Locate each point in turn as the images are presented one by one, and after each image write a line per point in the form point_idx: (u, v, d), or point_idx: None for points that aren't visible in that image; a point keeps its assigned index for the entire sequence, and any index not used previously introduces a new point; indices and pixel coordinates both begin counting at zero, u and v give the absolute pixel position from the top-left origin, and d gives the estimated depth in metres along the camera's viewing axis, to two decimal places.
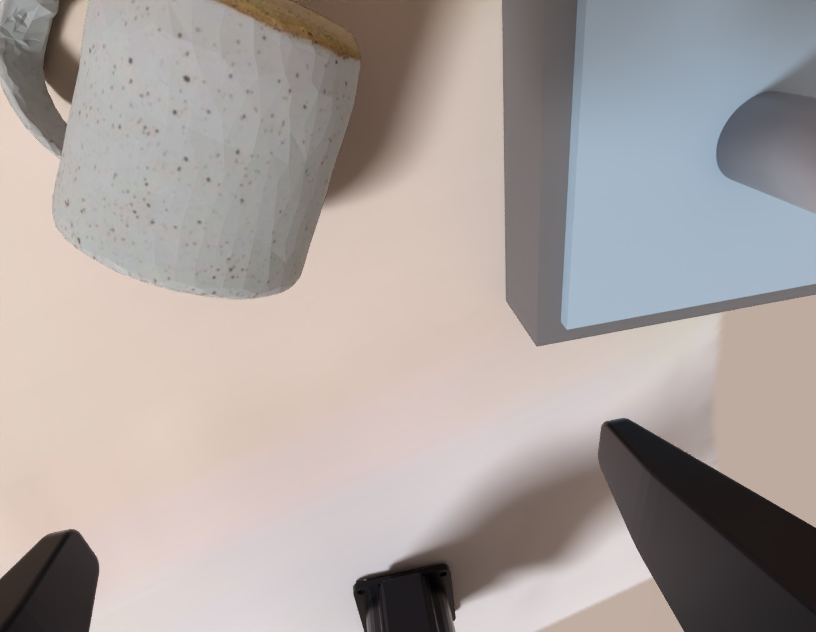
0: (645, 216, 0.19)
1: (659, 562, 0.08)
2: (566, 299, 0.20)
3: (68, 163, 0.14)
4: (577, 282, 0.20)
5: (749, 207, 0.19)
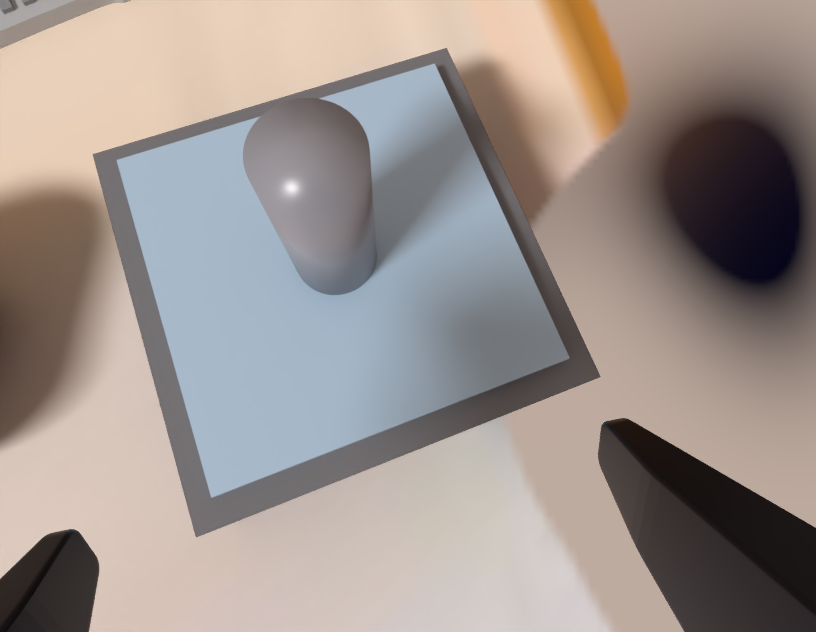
0: (253, 346, 0.18)
1: (659, 562, 0.08)
2: (202, 458, 0.17)
3: None
4: (203, 433, 0.17)
5: (367, 315, 0.19)
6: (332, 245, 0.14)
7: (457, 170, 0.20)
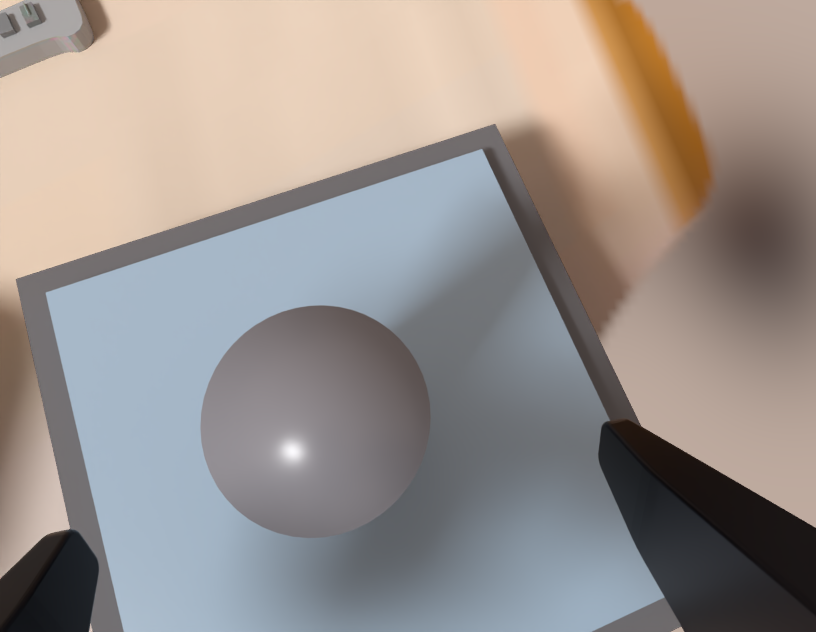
0: (235, 577, 0.13)
1: (659, 562, 0.08)
2: None
3: None
4: None
5: (398, 524, 0.13)
6: None
7: (518, 301, 0.15)
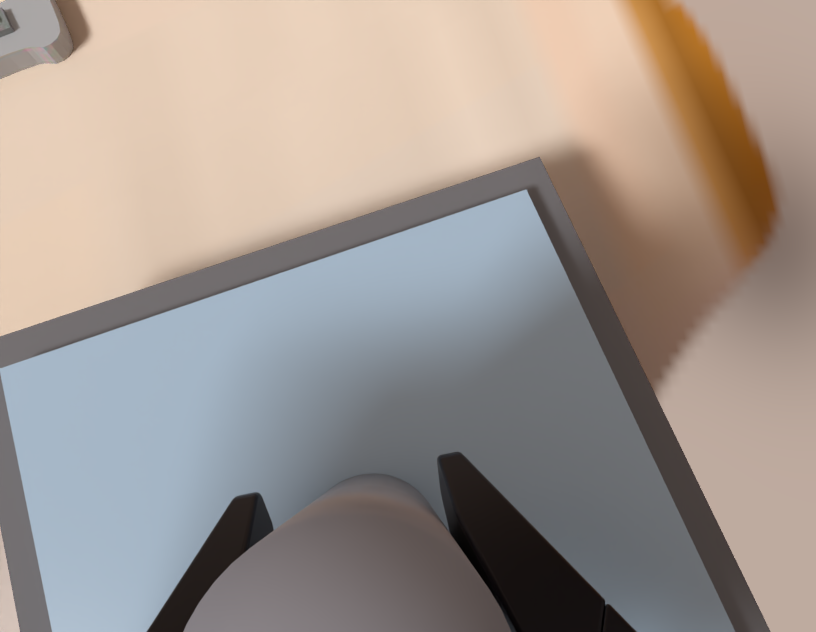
0: None
1: None
2: None
3: None
4: None
5: None
6: None
7: (572, 379, 0.12)
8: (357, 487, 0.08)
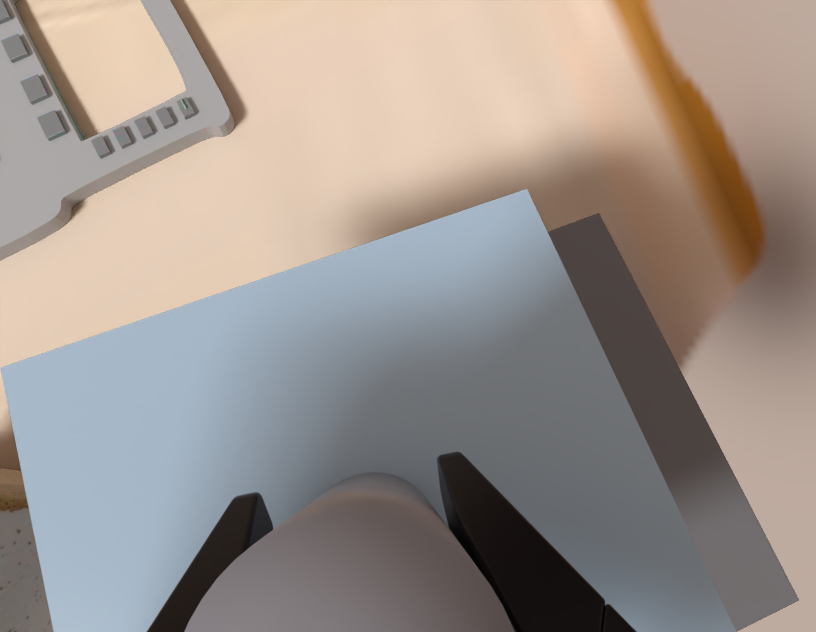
0: None
1: None
2: None
3: None
4: None
5: None
6: None
7: (573, 379, 0.12)
8: (358, 485, 0.08)
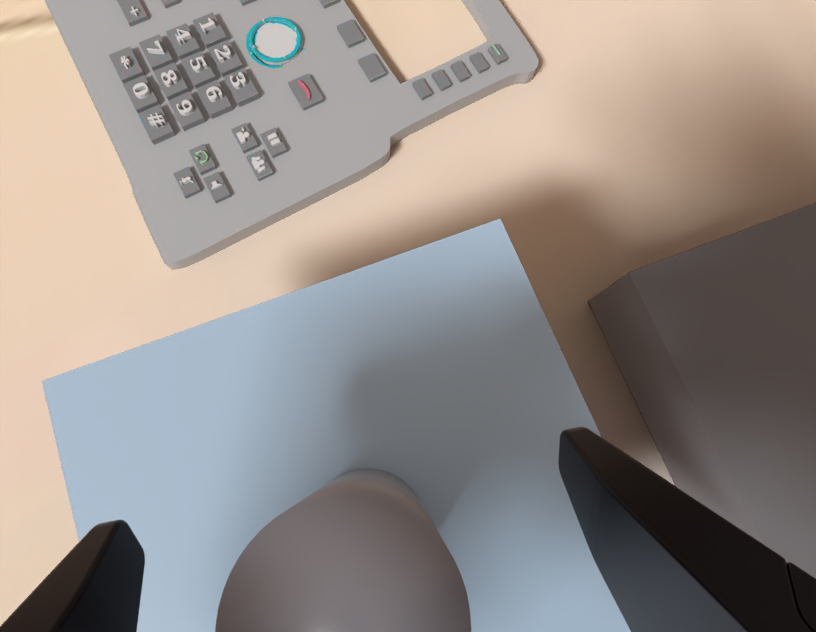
0: None
1: (612, 572, 0.08)
2: None
3: None
4: None
5: None
6: None
7: (540, 385, 0.14)
8: (353, 478, 0.09)
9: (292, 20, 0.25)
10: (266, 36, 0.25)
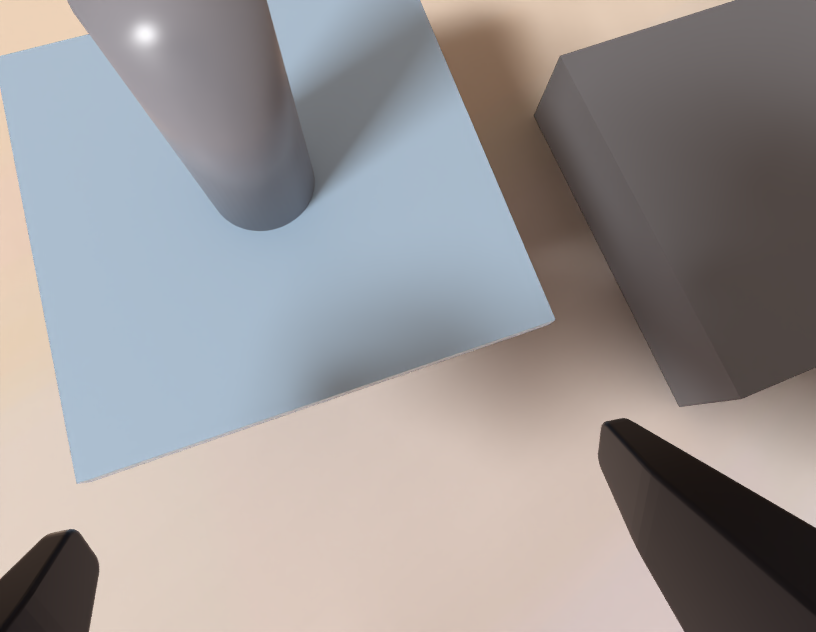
0: (148, 291, 0.14)
1: (659, 562, 0.08)
2: (71, 433, 0.13)
3: None
4: (73, 399, 0.13)
5: (298, 258, 0.14)
6: (221, 133, 0.10)
7: (423, 84, 0.16)
8: None
9: None
10: None
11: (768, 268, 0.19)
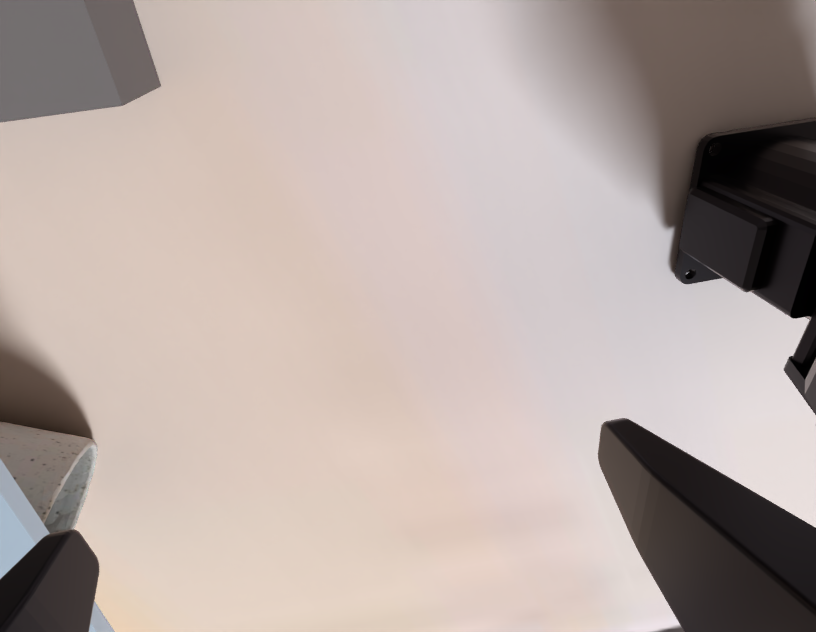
0: None
1: (659, 562, 0.08)
2: None
3: None
4: None
5: None
6: None
7: None
8: None
9: None
10: None
11: None
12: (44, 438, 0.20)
